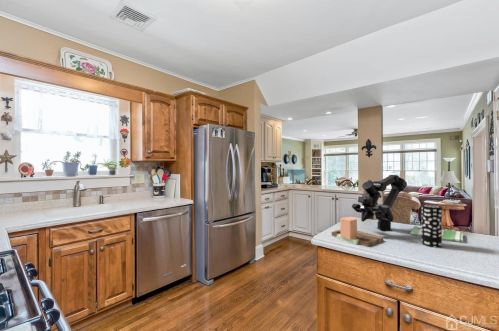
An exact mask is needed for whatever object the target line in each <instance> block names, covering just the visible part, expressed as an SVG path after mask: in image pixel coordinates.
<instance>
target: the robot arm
mask: <svg viewBox="0 0 499 331" xmlns="http://www.w3.org/2000/svg"><path fill="white" fill-rule="evenodd" d="M389 186H390V188H391V189H390V191H389V192H388V194H387V196H386V198H385V200H384V201H383V203H382V204H381V203H378V201H379V199H380V198H382V195H381V192H385V191H386V190H387V187H389ZM407 187H408V182H407V181H406V180H405V179H404V178H402V177H400V176H399V175H398V174H389V175H388V176H386V177H384V178H383V179H381V180H375V181H372V180H369V179H368V180H367V181H365V182H363V183H362V184H361V188H362V189H363V190H364V192H365V194H367V196H358V199H357V202H358V203H353V204H352V206H351V208H352V209H353V210H354V211H355V212H357V213H360V214H361V218H360V220H361V222H363V223H364V222H365V221H366V220H368V219H370V218H371V217H373V216H374V217H375V219H376V220H377V227H376V229H378V230H380V231H383V232H390V231H391V232H392V231H393V229H392V222H393V221H394V219H395V218H394V215H393V214H392V213H393V212H392V206H393V205H394V203H395V201H396V200H397V198H398V196H399V195H400V193H401V192H403V191H405V189H406V188H407ZM360 203H361V204H360Z"/></svg>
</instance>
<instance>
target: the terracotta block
mask: <svg viewBox="0 0 499 331" xmlns="http://www.w3.org/2000/svg"><path fill="white" fill-rule="evenodd" d="M339 222H340V224H339V225H340V228H339V230H340V236H341V237H344V238H347V239H353V238H357V231H358V219H357V218H353V217H349V216H346V217H341V218H340V221H339Z"/></svg>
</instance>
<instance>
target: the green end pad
mask: <svg viewBox="0 0 499 331" xmlns="http://www.w3.org/2000/svg"><path fill="white" fill-rule="evenodd" d="M336 239H338V240H340V241H344V242H346V243H350V244H353V245H359V244H358V240H359V239H355V238H353V239H347V238H344V237H341V236H340V234H338V235H337V237H336Z"/></svg>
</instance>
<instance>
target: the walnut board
mask: <svg viewBox="0 0 499 331" xmlns="http://www.w3.org/2000/svg"><path fill="white" fill-rule="evenodd" d="M338 234H340V229H339V230H334V231H331V236H333V237H334V238H335V237H336V238H337V235H338ZM355 239H359V240H358V244H357V245H360V246H364V247H367V248H368V247H371V246H374V245H377V244H380V243H383V242H384V237H383V236H379V235H376V234H372V233H368V232H364V231H361V230H357V238H355Z"/></svg>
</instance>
